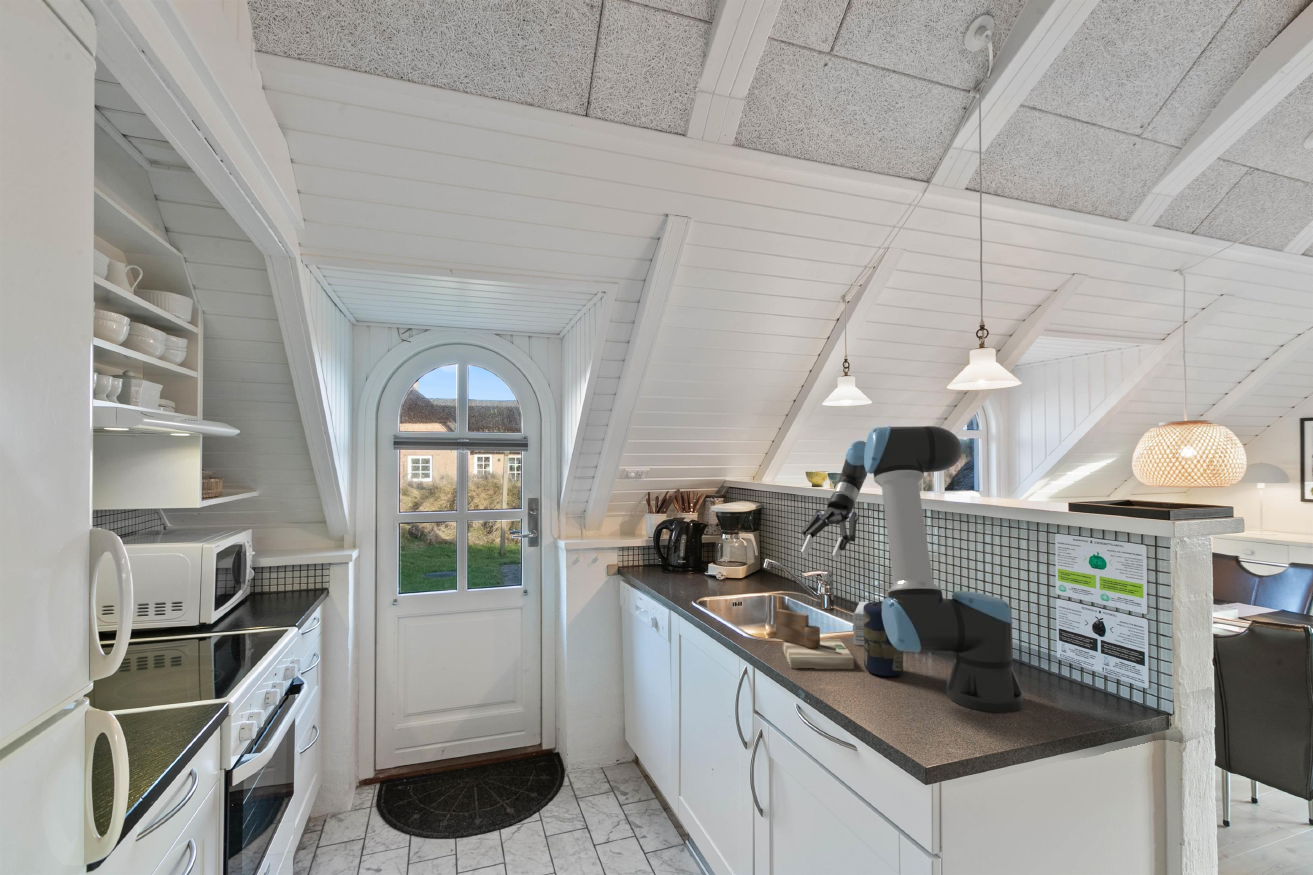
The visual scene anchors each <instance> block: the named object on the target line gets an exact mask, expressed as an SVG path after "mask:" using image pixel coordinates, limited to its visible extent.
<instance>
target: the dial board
mask: <svg viewBox="0 0 1313 875" xmlns="http://www.w3.org/2000/svg"><path fill="white" fill-rule="evenodd" d="M820 644H821V645H825V646H830V647H834V648H836V651H834V650H829V649H825V648H821V647H819V648H808V647H806V646H805V645H801V644H797V643H793V642H788V641H784V640H782V651H783V653H784V655H785V658H786V661H787V662H789V663H788V665H789V664H790V665H789V667H790V669H798V668H815V669H819V670H821V669H822V670H824V669H825V670H855V666H854V665H855V664H854V663H855V662H854V661H855V659H854V656H853V655H852V653H851V652H850V651H849V649H848V648H847V647H846V645H845V644H844V643H843V642H842V641H841V639H840V638H820ZM815 669H814V670H815Z"/></svg>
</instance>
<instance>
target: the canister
mask: <svg viewBox="0 0 1313 875" xmlns="http://www.w3.org/2000/svg"><path fill="white" fill-rule="evenodd" d="M869 602H870V603H867V604H865V605H864V608H863V635H864V646H863V666H864V668H865V670H866V671H868V672H869V673H871V674H872V675H873V674H874V675H877V676H881V677H882V676H883V677H895V676H899V675H902V673H903V672H904V670H905V669H904V651H900V650H897V649H896V648H895V647H894V646H893V645H892V644H891V642H890V640H889V638H888V636H887V634H886V631H885V628H884V624H883V619H882V608H881V607H882V602H883V600H881V601H869Z"/></svg>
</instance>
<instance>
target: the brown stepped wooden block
mask: <svg viewBox="0 0 1313 875" xmlns="http://www.w3.org/2000/svg"><path fill="white" fill-rule="evenodd" d="M809 616H810V615H809V614H806V613H801V612H796V611H795V612H794V611H790V610H785V609H779V608H778V609H776V610H775V631H776V632H775V633H776V634H775V635H776V636H775V637H776V638H775V639H776V640H780V641H783V640H784V641H788V642H793V643H797V644H801V645H805V646H806V647H808V648H819V647H821V648H825V649H829V650H834V651H836V648H834V647H830V646H825V645H821V644H820V639H821V631H820V630H821V628H820V626H817V625H810V622H809Z"/></svg>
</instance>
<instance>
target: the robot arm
mask: <svg viewBox="0 0 1313 875" xmlns="http://www.w3.org/2000/svg"><path fill="white" fill-rule="evenodd" d="M962 454H963V448H962V444H961V441H960V439H959V438H958V436H957V435H956V434H954V433H953V432H951V431H950V430H948V429H945V428H943V427H939V426H934V425H932V426H931V425H926V426H914V425H913V426H890V425H887V426H882V427H881V426H880V427H874V428H873V429H871V430H870V432H869V433H868V436H867V438H866V441H865V440H857V441H854V442H853V443H851V444H850V446H849V448H848V449H847V451H846V454H845V459H844V464H843V467H842V470H841V473H840V476H839V477H838V480H837V483H836V485H835V487H834V489H833V491H832V494H831V496H830V498H829V501H828V503H827V507H826V509H825V510H824V511H823V510H820V509H815V512H814V514H813V516H812V517H811V519H809V521H808V522H807V523H806V525H805V526H804V527H803V528H802V530H801V533H802V535H803V537H804V539H803V541H802V545H803V546H802V547H801V550H800V552H801V554H802V556H803V557H804V558H807V556H808V554H809V551H810V549H811V547H812V546H813V543H814V538H815V537H816V536H817V535H818V534H819V533H820V532H821V531H822V530H824V529H825V528H827V527H829V526H830V525H836V526H839V528H840V533H841V536H840V537H838V540H837V542H836V544H835V547H834V548H833V552H832V554H831V555H832V557H833V559H834V560H835V561H837V562H838V561H839V558H840V556H841V553H842V551H845V549H846V548H847V545H848V544H849V543H850V542H853V543H854V542H855V541H856V534H857V524H858V523H857V522H858V520H859V516H858V513H857V512H856V511H853V509H854V507H855V504H856V503H857V499H858V497H859V494H860V492H861V489H862V488H863V486H864V483H865V480H866V478H867V476H868V474H870V475H872V474H873V482H874V483H875V484H877V485H878V486H880V487H881V492H882V493H881V494H882V502H883V509H884V510H883V511H884V518H885V524H886V526H885V527H886V530H887V531H886V532H887V540H888V548H889V555H890V565H891V566H890V567H891V574H892V579H893V584H892V586H891V587H890V588H889V589H888V591H887V596H888V597H886V598H883V600H882V601H883V602H882V607H881V608H882V619H883V624H884V628H885V631H886V634H887V636H888V638H889V640H890V642H891V644H892V645H893V646H894V647H895V648H896V649H897V650H900V651H903V652H906V653H907V652H908V653H909V652H910V653H915V654H919V653H953V654H954V656H953V657H954V660H953V664H952V668H951V670H950V673H949V676H948V679H947V682H946V696H947V697H948V698H949V699H950V700H951V701H952V702H955V703H957V704H958V705H961V706H963V707H966V708H968V709H969V708H970V709H973V710H977V711H983V712H990V713H1012V712H1017V711H1019V710H1021V709H1023V708H1024V695H1023V692H1022V690H1021V686H1020V683H1019V681H1018V678H1017V676H1016V673H1015V671H1014V663H1013V626H1012V625H1013V620H1012V612H1011V611H1012V610H1011V606H1010V605H1009V603H1008V602H1007V601H1005V600H1003V599H1001V598H999V597H996V596H991V595H989V594H985V593H980V592H975V591H966V590H954V591H953V592H952V594H951V598H944V597H943V590H942V588H941V587H939V586H938V585H937V584H935V583H934V580H933V573H932V566H931V559H930V551H929V546H928V539H927V537H928V536H927V532H926V524H925V517H924V514H923V513H924V511H923V506H922V505H923V504H922V499H921V490H920V485H919V484H920V482H921V481H922V480H923V479H924V477H925V473H937V472H942V471H946V470H949V469H950V468H953V467H954V466H955V465H956V464H957V463H958V462H959V461H960V459H961V458H962ZM852 511H853V512H852ZM848 519H849V526H848V531H847V526H846V521H847V520H848Z"/></svg>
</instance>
